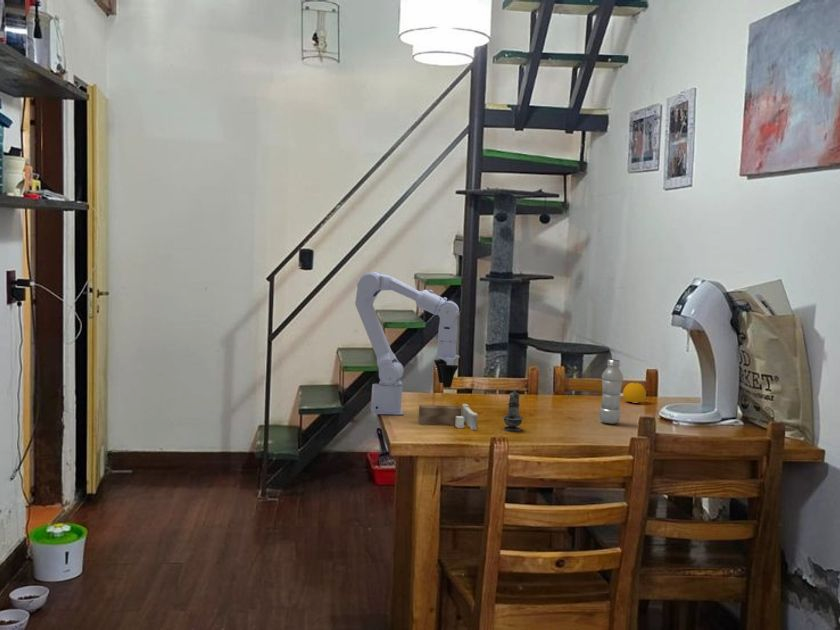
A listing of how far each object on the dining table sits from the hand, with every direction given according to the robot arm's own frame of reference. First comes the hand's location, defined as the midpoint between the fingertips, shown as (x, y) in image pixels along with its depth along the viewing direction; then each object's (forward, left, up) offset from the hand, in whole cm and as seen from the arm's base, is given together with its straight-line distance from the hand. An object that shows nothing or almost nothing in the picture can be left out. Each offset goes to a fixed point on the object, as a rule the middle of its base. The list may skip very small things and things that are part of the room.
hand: (444, 385), depth 249 cm
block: (-3, -9, -10) cm, 14 cm away
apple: (+75, +31, -10) cm, 82 cm away
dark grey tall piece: (+18, -15, -10) cm, 26 cm away
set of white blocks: (+4, -9, -10) cm, 14 cm away
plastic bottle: (+52, -4, -10) cm, 53 cm away
